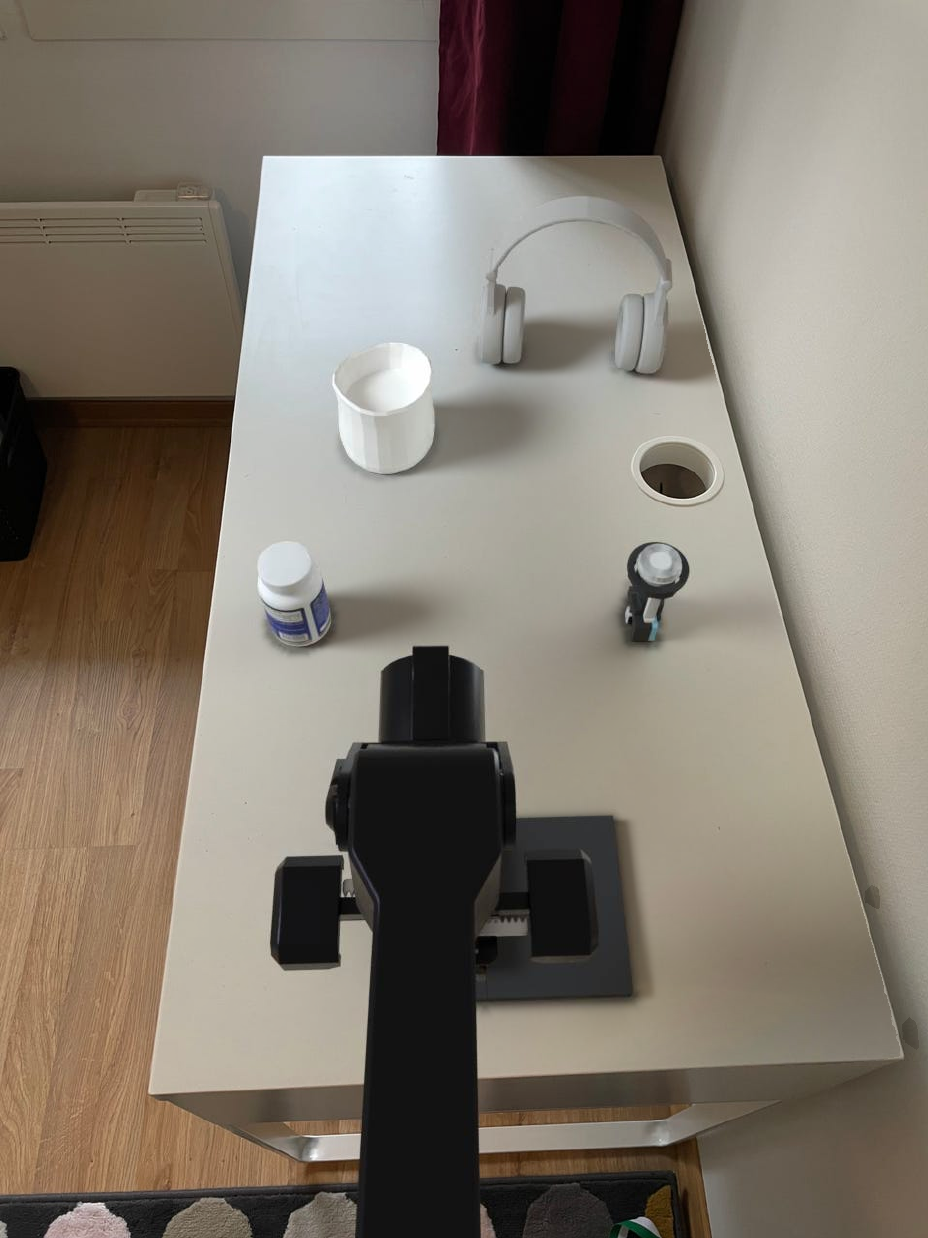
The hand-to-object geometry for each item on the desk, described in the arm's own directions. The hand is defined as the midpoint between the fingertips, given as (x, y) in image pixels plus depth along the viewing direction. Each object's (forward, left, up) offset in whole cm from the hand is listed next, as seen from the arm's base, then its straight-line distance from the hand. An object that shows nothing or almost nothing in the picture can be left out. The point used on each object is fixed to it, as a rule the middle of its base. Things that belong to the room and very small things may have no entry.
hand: (437, 940), depth 63 cm
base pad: (+5, -5, -12) cm, 14 cm away
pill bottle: (+32, +12, -12) cm, 36 cm away
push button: (+32, -20, -12) cm, 39 cm away
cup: (+54, +4, -12) cm, 56 cm away
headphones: (+66, -16, -12) cm, 69 cm away
